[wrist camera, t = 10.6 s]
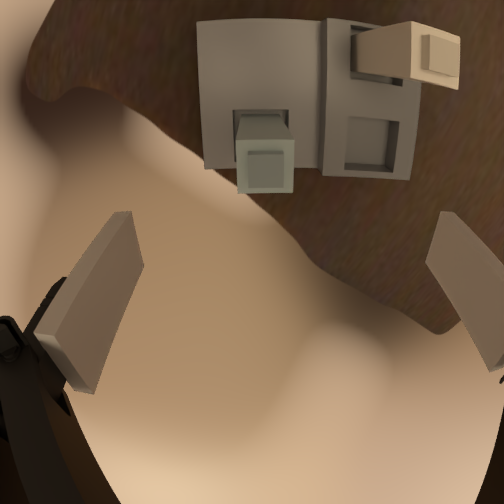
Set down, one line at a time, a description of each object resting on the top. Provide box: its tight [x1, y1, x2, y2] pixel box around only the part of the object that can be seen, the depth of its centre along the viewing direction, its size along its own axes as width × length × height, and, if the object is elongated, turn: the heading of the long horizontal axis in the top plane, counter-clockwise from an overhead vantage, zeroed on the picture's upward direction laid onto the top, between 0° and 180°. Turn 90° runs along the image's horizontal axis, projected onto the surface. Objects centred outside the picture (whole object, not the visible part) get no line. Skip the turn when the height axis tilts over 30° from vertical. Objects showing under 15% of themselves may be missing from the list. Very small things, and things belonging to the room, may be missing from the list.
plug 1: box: [236, 114, 295, 193], centre depth 26 cm, size 4×4×14 cm
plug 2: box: [350, 21, 460, 90], centre depth 19 cm, size 4×4×14 cm
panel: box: [197, 18, 421, 180], centre depth 28 cm, size 16×22×6 cm
